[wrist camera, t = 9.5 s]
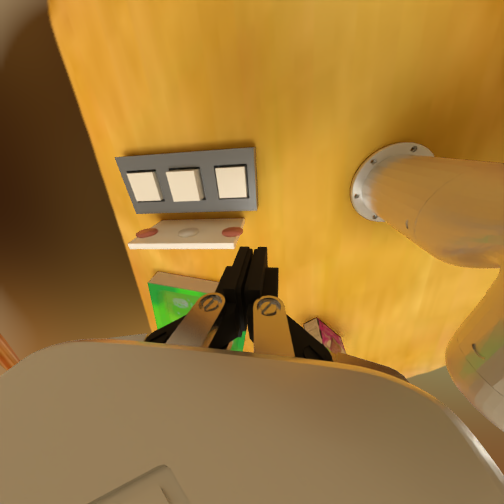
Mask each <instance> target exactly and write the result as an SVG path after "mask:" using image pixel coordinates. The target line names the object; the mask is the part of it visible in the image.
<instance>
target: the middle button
mask: <svg viewBox="0 0 504 504" xmlns="http://www.w3.org/2000/svg"><path fill="white" fill-rule="evenodd" d="M166 175H167V179H168V183H169V186H170V190H171V194H172V197H173V201H174V202H179V201H200V200H201V199H203V198H204V197H205V192H204V187H203V181H202V176H201V171H200V168H198V169H181V170H172V171H169V172H166Z"/></svg>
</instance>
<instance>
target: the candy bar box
mask: <svg viewBox="0 0 504 504" xmlns="http://www.w3.org/2000/svg"><path fill="white" fill-rule="evenodd" d="M303 326H304V329H305V330H306V331H307V332H308V333H309V334H311V335H312V336H313V337H314V338H315V339H317V340H318V341H319V342H320V343H321V344H323V345H324V346H325V347H326V348H327V349H328V350H329V352H332V353H335V354H337V352H341V353H344V354H346V352H345V349H344V346H343V343H342V340H341V338H340V337H339V336H338V335H337V334H336V333H334V332H333V331H332V330H331V329H330V328H328V327H327V326H326V325H325V324H324V323H323V322H321V321H320V320H319V319H318V318H315V319H313V320H311V321H309V322H307V323H305V324H303Z"/></svg>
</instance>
